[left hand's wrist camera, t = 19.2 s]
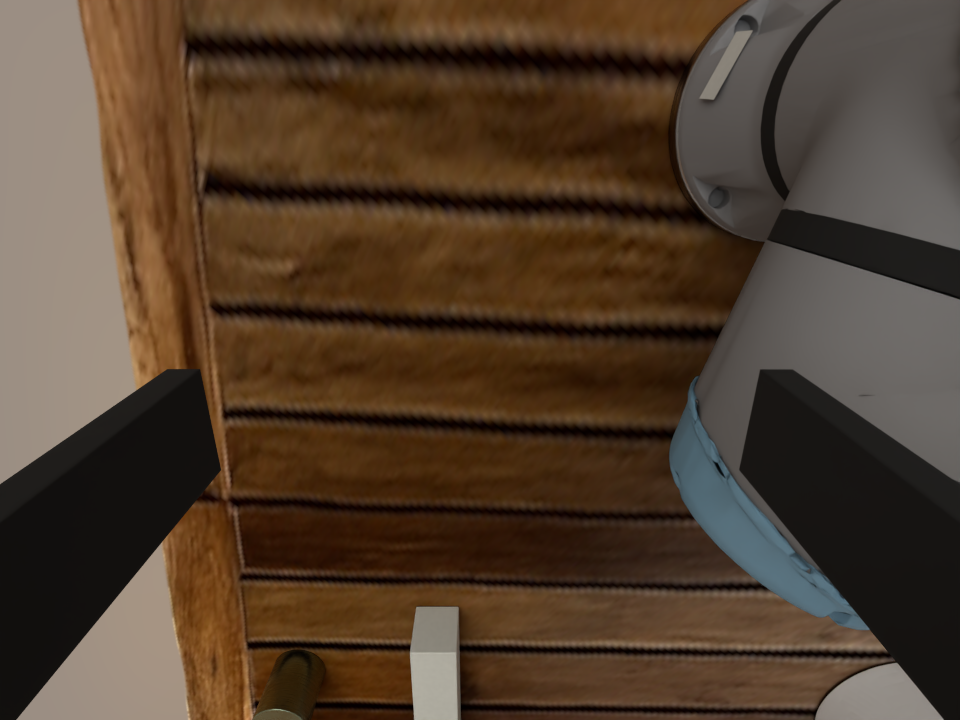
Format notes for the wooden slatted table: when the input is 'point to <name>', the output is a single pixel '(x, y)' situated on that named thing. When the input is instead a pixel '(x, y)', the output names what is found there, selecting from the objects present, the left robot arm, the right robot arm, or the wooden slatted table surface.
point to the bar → (436, 664)
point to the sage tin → (292, 687)
